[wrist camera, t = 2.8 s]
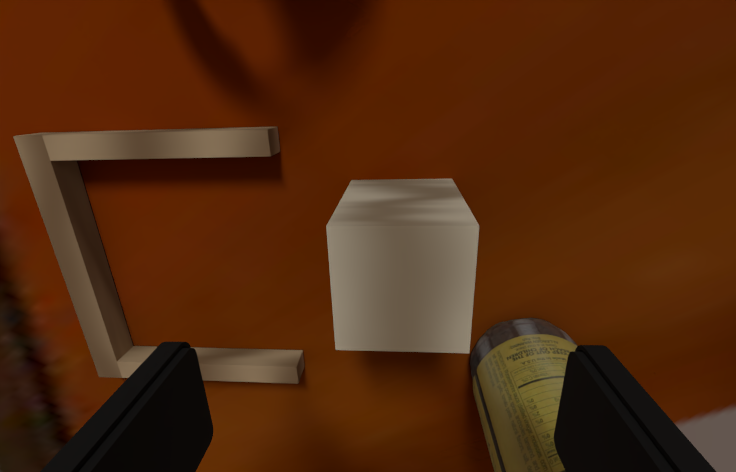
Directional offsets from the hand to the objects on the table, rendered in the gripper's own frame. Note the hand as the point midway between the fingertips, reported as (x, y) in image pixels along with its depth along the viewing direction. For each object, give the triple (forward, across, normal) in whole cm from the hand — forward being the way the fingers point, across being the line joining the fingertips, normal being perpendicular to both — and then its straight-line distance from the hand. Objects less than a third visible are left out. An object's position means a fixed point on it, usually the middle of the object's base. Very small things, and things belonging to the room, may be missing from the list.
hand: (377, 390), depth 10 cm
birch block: (+11, -1, -1) cm, 11 cm away
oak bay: (+12, +11, +1) cm, 16 cm away
